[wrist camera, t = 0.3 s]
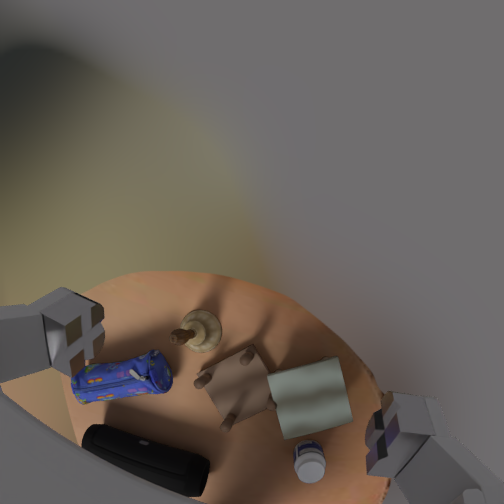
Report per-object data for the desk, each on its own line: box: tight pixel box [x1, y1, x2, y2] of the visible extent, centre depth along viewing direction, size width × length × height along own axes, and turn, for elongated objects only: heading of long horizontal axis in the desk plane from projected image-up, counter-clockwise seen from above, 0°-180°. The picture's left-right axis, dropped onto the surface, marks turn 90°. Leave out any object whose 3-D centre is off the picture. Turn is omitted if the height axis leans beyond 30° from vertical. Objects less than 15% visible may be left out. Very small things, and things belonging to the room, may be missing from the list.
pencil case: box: [71, 350, 173, 404], centre depth 56 cm, size 22×9×10 cm, turn 106°
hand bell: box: [169, 310, 222, 353], centre depth 53 cm, size 8×8×16 cm
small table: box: [267, 356, 353, 440], centre depth 53 cm, size 12×12×8 cm
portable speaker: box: [82, 424, 210, 497], centre depth 52 cm, size 26×10×10 cm, turn 81°
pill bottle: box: [293, 440, 326, 483], centre depth 49 cm, size 6×6×10 cm
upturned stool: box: [194, 344, 277, 432], centre depth 54 cm, size 12×12×8 cm
